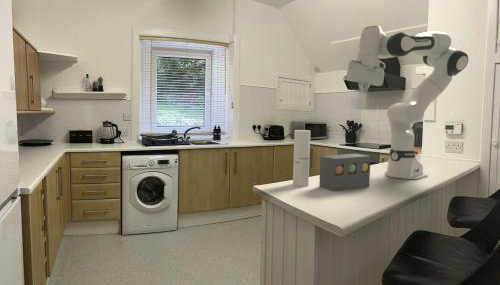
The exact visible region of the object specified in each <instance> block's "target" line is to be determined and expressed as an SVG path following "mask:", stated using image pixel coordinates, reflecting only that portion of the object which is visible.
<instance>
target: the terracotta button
mask: <svg viewBox="0 0 500 285" xmlns="http://www.w3.org/2000/svg"><path fill="white" fill-rule="evenodd" d="M342 171H343V167H342V166H341V165H336V174H341V173H342Z"/></svg>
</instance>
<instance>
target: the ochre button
mask: <svg viewBox="0 0 500 285" xmlns="http://www.w3.org/2000/svg"><path fill="white" fill-rule="evenodd" d="M367 170H368V164H367V163H364V162H363V163H362V171H364V172H366V171H367Z"/></svg>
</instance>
